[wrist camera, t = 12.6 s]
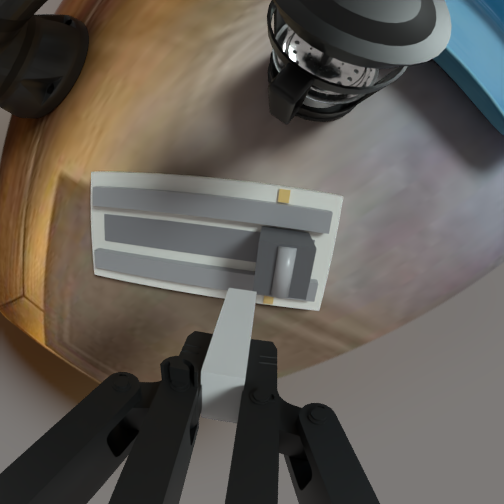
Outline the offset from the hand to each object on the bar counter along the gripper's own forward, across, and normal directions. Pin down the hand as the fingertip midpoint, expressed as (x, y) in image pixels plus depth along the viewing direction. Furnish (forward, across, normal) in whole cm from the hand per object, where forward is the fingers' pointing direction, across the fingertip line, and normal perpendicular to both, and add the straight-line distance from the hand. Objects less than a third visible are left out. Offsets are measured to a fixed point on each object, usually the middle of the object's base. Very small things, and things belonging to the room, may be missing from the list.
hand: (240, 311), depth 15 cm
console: (+14, -5, 0) cm, 15 cm away
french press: (+14, +4, +17) cm, 22 cm away
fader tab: (+12, +3, 0) cm, 12 cm away
